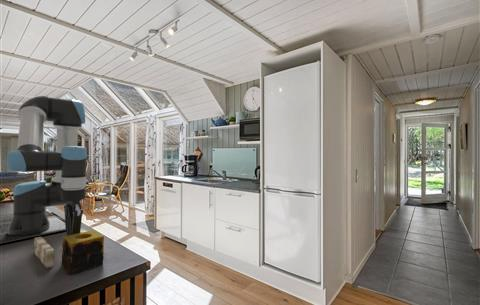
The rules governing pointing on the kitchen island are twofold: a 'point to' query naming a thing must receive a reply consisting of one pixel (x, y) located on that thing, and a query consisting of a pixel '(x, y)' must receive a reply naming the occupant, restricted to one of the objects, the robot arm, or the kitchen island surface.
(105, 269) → the kitchen island surface
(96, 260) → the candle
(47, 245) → the rail
